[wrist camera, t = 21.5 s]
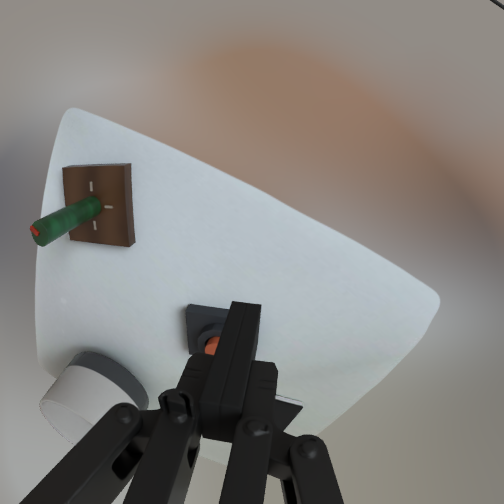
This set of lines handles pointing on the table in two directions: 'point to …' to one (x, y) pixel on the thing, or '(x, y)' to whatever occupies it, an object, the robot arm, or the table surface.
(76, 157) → the table surface
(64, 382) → the planter
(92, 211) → the dial knob
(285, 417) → the smartphone
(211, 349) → the button
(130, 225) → the dial base
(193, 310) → the button box
